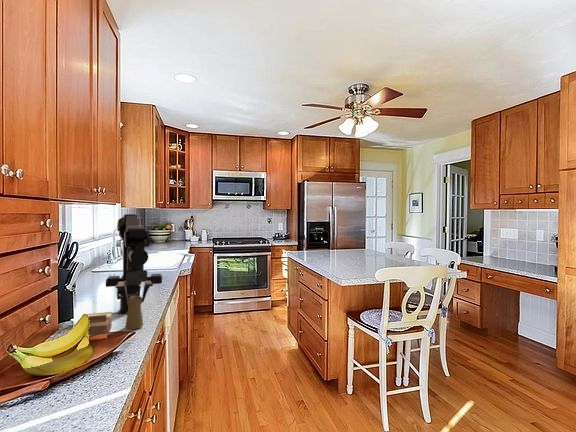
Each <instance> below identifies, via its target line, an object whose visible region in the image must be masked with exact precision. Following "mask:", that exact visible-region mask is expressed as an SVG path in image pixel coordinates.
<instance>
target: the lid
mask: <svg viewBox="0 0 576 432" xmlns="http://www.w3.org/2000/svg"><path fill="white" fill-rule="evenodd" d="M112 314H113V312H112V311H107V312H97V313H96V312H95V313H87V314H86V315H88V317H89V320H90V327H95V326H105V325H107V324H108V322H109V320H110V317H111V315H112ZM112 316H113V315H112Z"/></svg>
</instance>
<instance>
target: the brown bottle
mask: <svg viewBox="0 0 576 432" xmlns="http://www.w3.org/2000/svg"><path fill="white" fill-rule="evenodd" d="M142 297H143V296H141V295H140V296H132V297H129V298H128V300H127V305H128V306H129V307H128V313H126V314H127V315H126V321H125V328H126V329H129V330H132V329H134V330H135V329H139V328H141V327H143V326H144V320H143V312H142V304H143V302H142Z"/></svg>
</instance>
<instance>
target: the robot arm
mask: <svg viewBox="0 0 576 432" xmlns="http://www.w3.org/2000/svg"><path fill="white" fill-rule="evenodd" d="M116 225H117V226H116V227H117V228H116V229H117V230H116V232H118V236H119V237H120V239H121V240H122V276H121V277H120V275H110V276H108V277H107V278H106V279H105V287H107V288H109V287H115V289H116V294H115V296H116V300H119V301H120V302H119V310H118V315H120V314H121V315H122V314H123V315H124V314H128V307H129V306H128V305H127V300H128V298H129V297H132V296H140V297H142V303H144V302H145V298H146V296H147V293H148V290H149V289H150V287H153V286H154V285H158V284H162V283H163V275H162V274H161V273H151V274H150V276H148V269H147V270H145V269H144V268H145V264H147V261H148V260H149V254H148V252H147V251H146V250H145V247H149V246H150V244H151V240H150V234H149V231H147V230H146V228H145V226H142V225H141V223H140V219H139V218H138V215H137V214H136V213H134V214H133V213H125V214H123V216H122V217H121V218H119V219H118V220H117V224H116ZM142 283H144V286H143V292H142V296H141V289H142V286H141V285H142Z"/></svg>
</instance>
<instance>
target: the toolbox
mask: <svg viewBox="0 0 576 432" xmlns="http://www.w3.org/2000/svg"><path fill="white" fill-rule="evenodd" d="M112 317H113V315H111V317H110V320H109V322H108V324H107V325H105V326H95V327H89V335H90V337H91V336H95V335H100V334H106V333H109V334H110V332H111V329H112V325H113V324H112V323H113V322H112V321H113V320H112Z"/></svg>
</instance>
